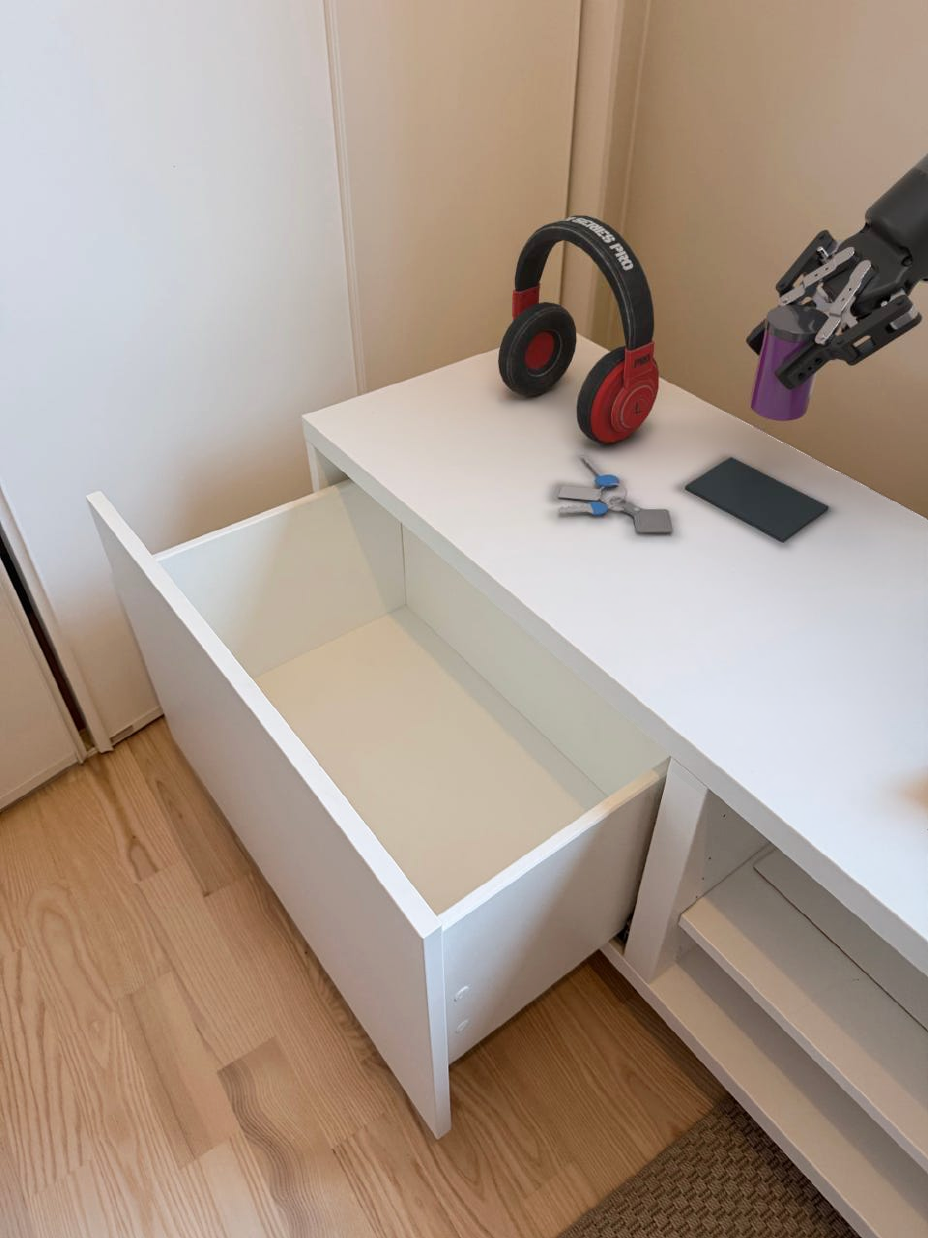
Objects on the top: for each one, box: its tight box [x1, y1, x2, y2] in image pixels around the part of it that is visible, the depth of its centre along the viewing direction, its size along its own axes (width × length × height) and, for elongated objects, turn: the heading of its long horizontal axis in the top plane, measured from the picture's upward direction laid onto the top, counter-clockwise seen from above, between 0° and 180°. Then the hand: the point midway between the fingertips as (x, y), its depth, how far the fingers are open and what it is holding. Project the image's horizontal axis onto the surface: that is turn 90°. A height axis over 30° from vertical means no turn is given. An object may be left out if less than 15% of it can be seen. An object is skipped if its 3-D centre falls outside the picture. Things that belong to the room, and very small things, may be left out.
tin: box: [749, 304, 829, 422], centre depth 78 cm, size 5×5×8 cm
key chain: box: [557, 453, 674, 533], centre depth 87 cm, size 14×8×1 cm, turn 36°
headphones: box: [497, 214, 660, 445], centre depth 92 cm, size 18×10×20 cm, turn 37°
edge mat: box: [684, 456, 830, 543], centre depth 87 cm, size 11×7×1 cm, turn 41°
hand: (767, 364), depth 77 cm, fingers closed on tin, 5 cm apart
